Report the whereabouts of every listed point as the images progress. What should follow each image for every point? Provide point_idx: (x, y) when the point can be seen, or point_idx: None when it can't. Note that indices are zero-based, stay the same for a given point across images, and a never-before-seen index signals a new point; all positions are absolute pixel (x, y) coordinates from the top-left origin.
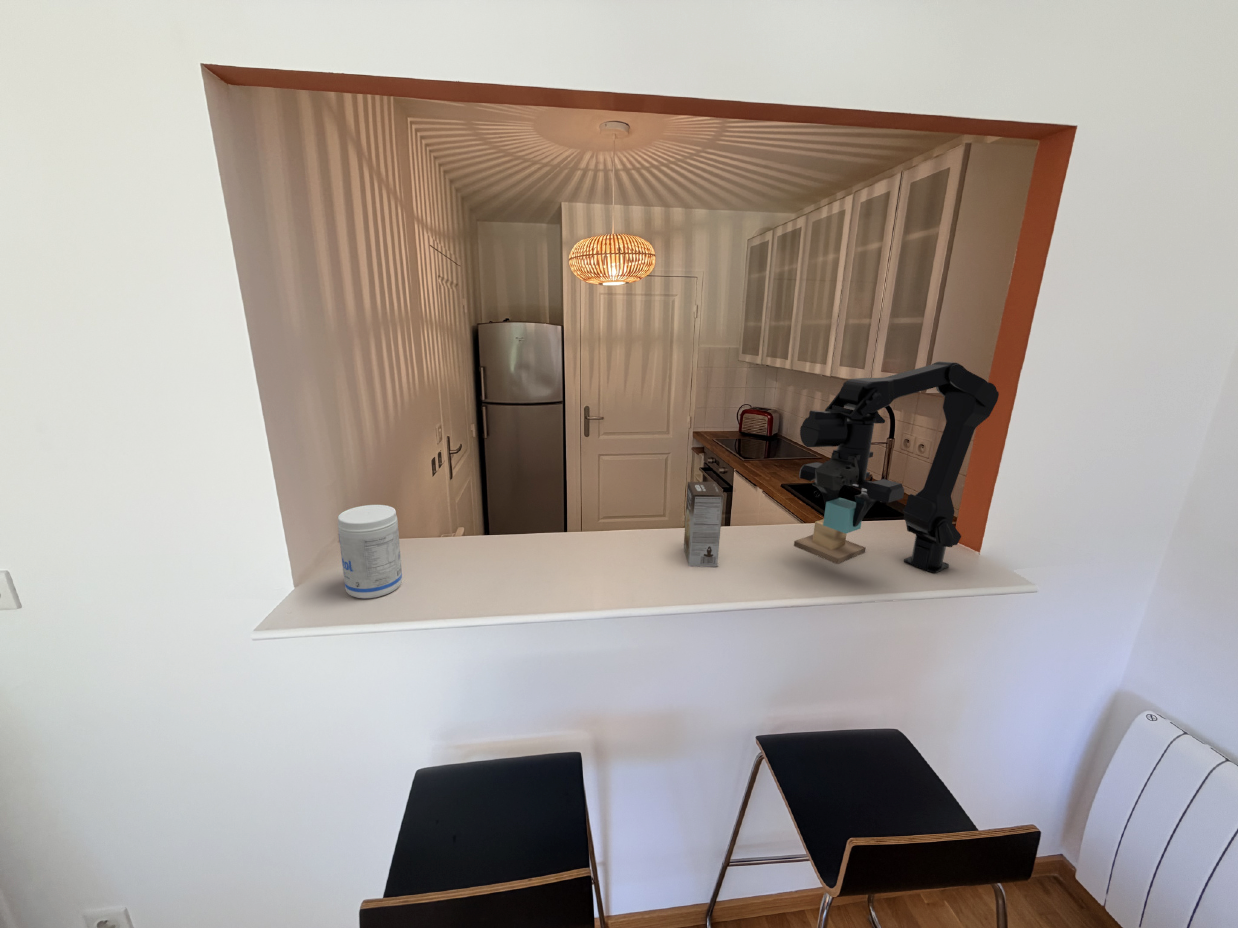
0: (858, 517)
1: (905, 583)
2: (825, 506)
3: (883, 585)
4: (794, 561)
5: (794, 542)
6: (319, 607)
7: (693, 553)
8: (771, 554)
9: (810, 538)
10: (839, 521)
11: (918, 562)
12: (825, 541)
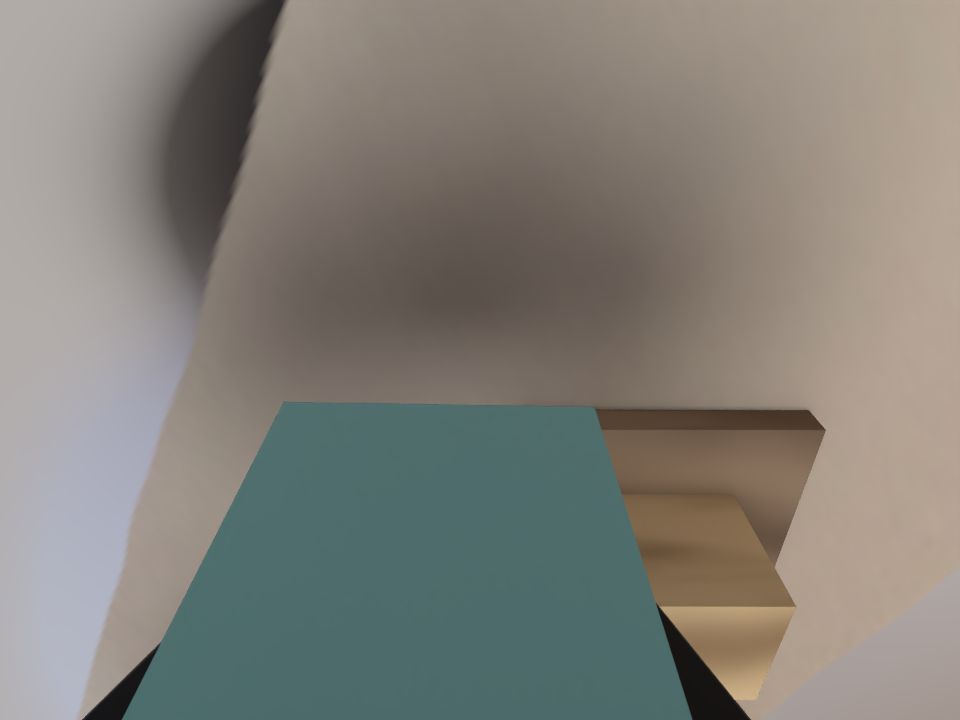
0: (141, 663)
1: (207, 483)
2: (708, 668)
3: (233, 386)
4: (707, 228)
5: (818, 424)
6: None
7: None
8: (877, 184)
9: (763, 522)
10: (367, 486)
11: None
12: (661, 519)
